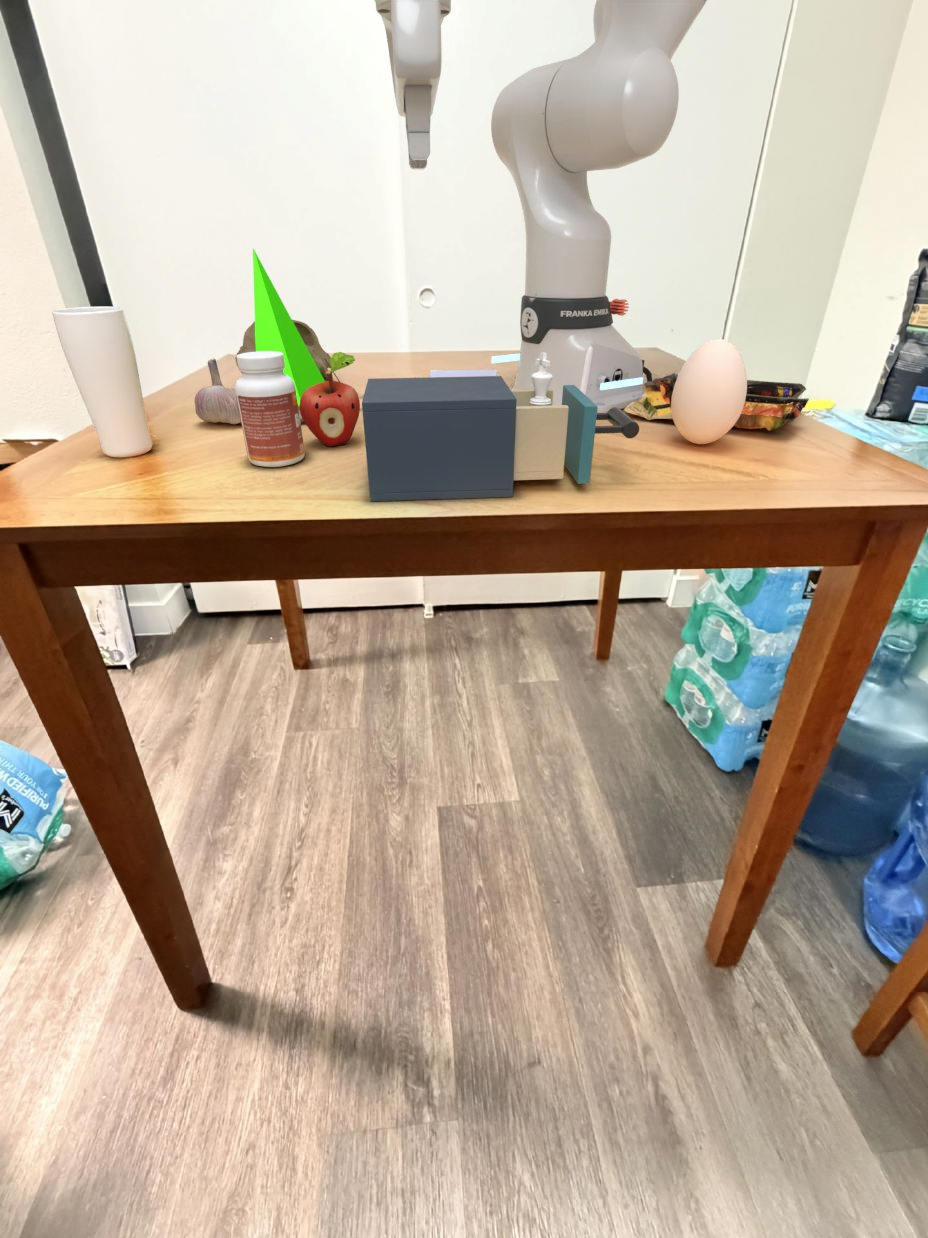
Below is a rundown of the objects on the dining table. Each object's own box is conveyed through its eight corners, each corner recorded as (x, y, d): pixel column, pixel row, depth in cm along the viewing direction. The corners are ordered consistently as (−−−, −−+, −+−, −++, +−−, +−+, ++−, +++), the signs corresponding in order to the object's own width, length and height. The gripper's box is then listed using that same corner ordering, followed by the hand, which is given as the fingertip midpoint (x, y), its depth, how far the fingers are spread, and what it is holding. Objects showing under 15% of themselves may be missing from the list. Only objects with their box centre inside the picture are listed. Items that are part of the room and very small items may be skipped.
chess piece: (532, 468, 61) (538, 358, 56) (503, 455, 64) (506, 351, 59) (571, 460, 63) (580, 354, 58) (541, 448, 67) (548, 347, 61)
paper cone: (208, 265, 86) (257, 436, 84) (209, 236, 81) (260, 418, 79) (290, 265, 90) (337, 427, 89) (295, 238, 85) (345, 410, 84)
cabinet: (499, 462, 69) (501, 375, 64) (512, 497, 60) (516, 398, 55) (375, 466, 68) (368, 378, 63) (370, 501, 59) (361, 402, 54)
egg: (653, 445, 74) (670, 340, 68) (679, 430, 79) (696, 332, 73) (722, 457, 70) (746, 346, 64) (743, 441, 75) (767, 337, 69)
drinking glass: (83, 457, 71) (34, 311, 63) (130, 441, 77) (91, 305, 69) (127, 463, 69) (83, 313, 61) (173, 447, 74) (138, 307, 67)
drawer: (611, 453, 69) (619, 383, 65) (638, 482, 61) (649, 404, 57) (454, 457, 68) (453, 387, 64) (461, 487, 60) (460, 409, 56)
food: (660, 370, 95) (657, 395, 97) (614, 393, 82) (611, 421, 84) (820, 384, 85) (812, 411, 87) (796, 413, 72) (788, 444, 74)
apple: (347, 454, 72) (337, 361, 66) (294, 449, 73) (280, 358, 68) (374, 436, 78) (367, 350, 73) (325, 432, 80) (315, 348, 74)
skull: (317, 383, 91) (287, 283, 88) (221, 415, 99) (189, 325, 95) (370, 381, 106) (346, 296, 103) (284, 410, 114) (259, 331, 110)
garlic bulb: (189, 421, 84) (174, 357, 80) (240, 412, 88) (229, 351, 84) (211, 432, 79) (196, 365, 75) (265, 422, 83) (254, 358, 79)
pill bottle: (314, 462, 69) (299, 355, 63) (259, 472, 66) (239, 361, 61) (294, 448, 74) (278, 347, 68) (241, 457, 71) (221, 352, 65)
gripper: (459, -102, 42) (460, 151, 50) (444, -5, 60) (446, 173, 67) (365, -105, 42) (381, 151, 49) (377, -6, 59) (387, 173, 67)
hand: (418, 164), depth 58 cm, fingers open, 8 cm apart
